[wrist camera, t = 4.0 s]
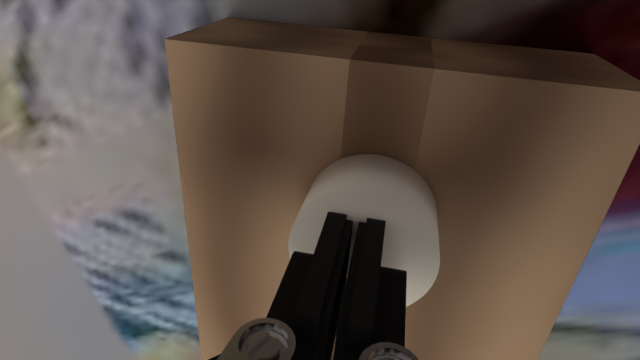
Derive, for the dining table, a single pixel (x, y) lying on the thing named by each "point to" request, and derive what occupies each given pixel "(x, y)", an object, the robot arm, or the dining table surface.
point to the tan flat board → (405, 146)
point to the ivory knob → (377, 214)
